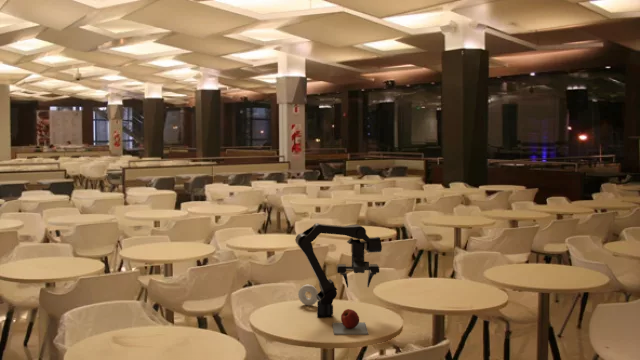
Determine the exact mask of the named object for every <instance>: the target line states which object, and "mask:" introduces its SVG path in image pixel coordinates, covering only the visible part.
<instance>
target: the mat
mask: <svg viewBox="0 0 640 360" xmlns="http://www.w3.org/2000/svg"><path fill="white" fill-rule="evenodd" d="M332 330H333V335H334V336H335V335H336V336H342V335H343V336H347V335H348V336H352V335H353V336H354V335H355V336H357V335H359V336H364V335H369V330H368V327H367V323H366V322H364V321H363V322H360V321H359V323H358V325H357V326H356V327H354V328H352V329H348V328H346V327H345V326H344V325H343V324H342V322H332Z"/></svg>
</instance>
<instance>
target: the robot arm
mask: <svg viewBox="0 0 640 360" xmlns="http://www.w3.org/2000/svg"><path fill="white" fill-rule="evenodd" d="M320 234H324V235H326V234H327V235H335V236H336V235H339V236H347V237H349V239H348V240H347V241H346V243H348V244H349V245H351V265H350V266H347V265H346V264H345V263H338V264H337V265H336V273H338V274H339V275H341V276H342V277H343V279H344V282H345V285H346V288H347V289H348V288H349V282H348V273H347V271H348V272H349V271H351V272H352V271H353V273H354V274H365V272H366V271H367V272H368V274H367V281H366V282H367V283H366V284H367V285H366V287H367V288H369V287H370V285H371V281H372V279H373V277H374V275H375V276H376V275H377V274H378V273H380V267H379V266H380V265H379V264H377V263H370V261H365V252H366V251H367V253H368V254H369V253H371V254H372V253H381V252H382V249H383V245H382V242H381V237H379V236H375V237H369V236H368V235H367V230H366V228H365V227H363V226H361V225H360V224H359V223H358V224H349V225H336V224H325V223H314V224H313V225H312V226H310V227H309V228H307V229H305V230H304V231H303V232H301V233H298V234H297V235H296V236H295V238H294V239H295V240H294V241H295V243H296V245H297V246H298V247H299V249H300V250H301V251H302V253H303V254H304V255H305V256H306V259H307V261H308V263H309V265H310V267H311V269H312V270H313V273H314V275H315V276H316V279H317V281H318V285H319V289H320V291H318V294H317V295H316V297H317V299H318V300H317V302H316V306H317V310H316V317H317V318H333V315H334V304H333V301H334V299H336V297H337V294H338V292H337V291H338V289H337V287H336V286H335V283H334V281H333V280H332V279H331V278H329V279H328V278H327V276H326V274H325V272H324V270H323V268H322V266H321V264H320V262H319V259H318V258H317V256H316V254H315V252H314V248H313V243H312V242H314V240H316V239H317V237H319V236H320Z"/></svg>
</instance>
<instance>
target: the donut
mask: <svg viewBox="0 0 640 360" xmlns="http://www.w3.org/2000/svg"><path fill="white" fill-rule="evenodd" d="M307 292H308V293H310V295H311V297H307V296H306V293H307ZM297 293H298V294H297V295H298V296H297V297H298V298H299V301H300V302H301V303H302V304H303V305H306V306H312V305H315V304H317V301H319V300H318V299H317V297H316V295H317V294H318V293H319V291H318V289H317V288H316V287H315V286H314V285H312V284H308V283H307V284H304V285H302V286H301V287H300V288H299V290H298V292H297Z"/></svg>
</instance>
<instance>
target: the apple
mask: <svg viewBox="0 0 640 360" xmlns="http://www.w3.org/2000/svg"><path fill="white" fill-rule="evenodd" d="M340 320H341V323H342V324H343V325H344V326H345V327H346V328H348V329H352V328H354V327H356V326H357V325H358V323H359V322H360V317H359V315H358V313H357V312H356V311H355V310H354V309H351V308H347V309H345V310H344V311H343V312H342V313H341V316H340Z"/></svg>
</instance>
